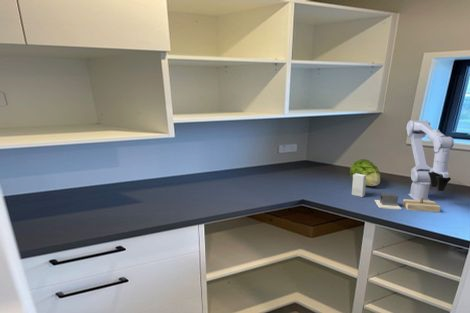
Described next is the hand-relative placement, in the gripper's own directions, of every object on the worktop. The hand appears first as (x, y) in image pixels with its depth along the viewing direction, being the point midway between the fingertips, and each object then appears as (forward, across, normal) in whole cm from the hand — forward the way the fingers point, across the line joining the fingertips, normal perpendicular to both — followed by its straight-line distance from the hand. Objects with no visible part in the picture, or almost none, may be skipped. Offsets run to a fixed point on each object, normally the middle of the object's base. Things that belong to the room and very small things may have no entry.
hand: (437, 188), depth 141 cm
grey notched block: (+10, 0, -21) cm, 23 cm away
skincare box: (+10, -11, -34) cm, 37 cm away
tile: (+10, 0, -22) cm, 24 cm away
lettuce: (+9, -34, -26) cm, 44 cm away
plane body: (+10, +1, -7) cm, 12 cm away
